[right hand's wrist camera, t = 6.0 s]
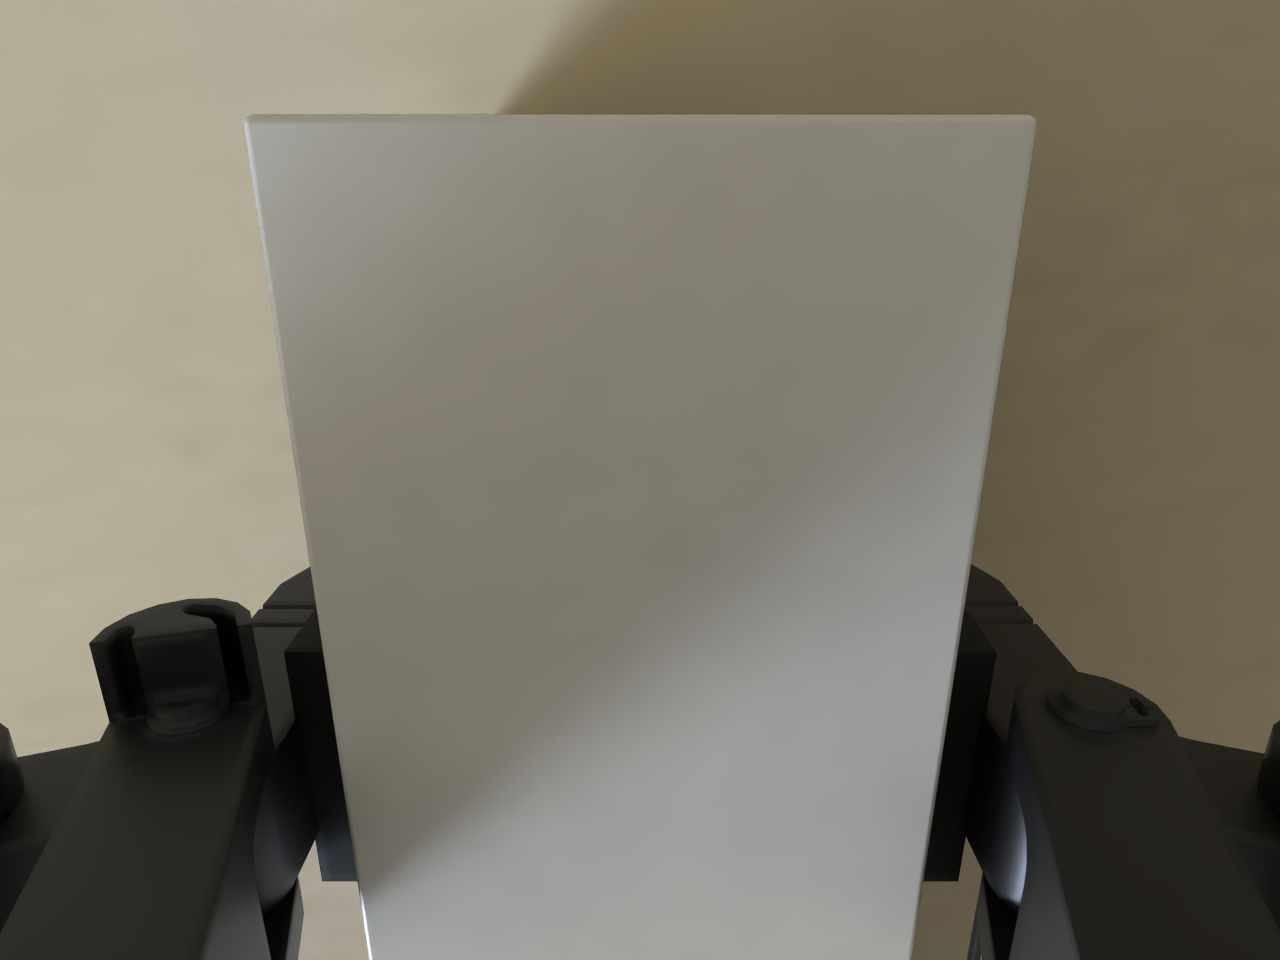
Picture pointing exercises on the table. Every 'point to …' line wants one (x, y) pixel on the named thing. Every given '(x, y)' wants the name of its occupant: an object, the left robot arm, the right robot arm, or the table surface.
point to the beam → (640, 510)
